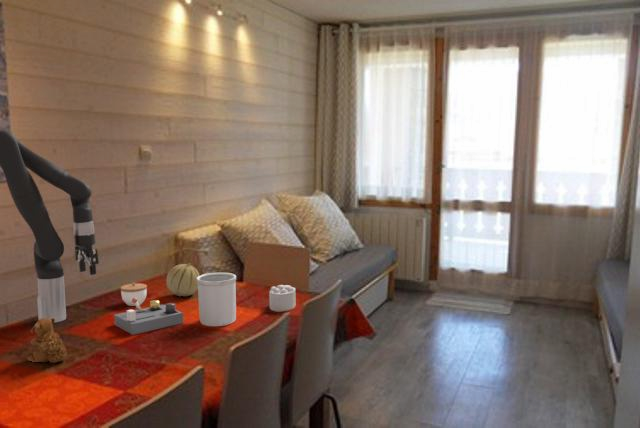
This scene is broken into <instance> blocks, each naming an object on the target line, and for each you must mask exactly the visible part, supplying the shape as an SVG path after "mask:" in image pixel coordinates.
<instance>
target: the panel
mask: <svg viewBox="0 0 640 428" xmlns="http://www.w3.org/2000/svg"><path fill="white" fill-rule="evenodd" d="M133 310H134V309H133ZM134 311H135V312H136V320H135V321H131V322H130V321H129V320H127V311H126V312H121V313H115V314H113V316H114V319H113V320H114V325H115V326H116V327H117V328H120V329H121V330H123V331H125V332H127V333H129V334H130V335H131V336H134V335H138V334H144V333H147V332H151V331H156V330H159V329H164V328H169V327H173V326H177V325H181V324H184V313H183V311H179V310H177V309H175V312H174V313H166V306H165V304H160V309H158V310H150V306H149V307H145V308H141V311H138V309H135V310H134Z"/></svg>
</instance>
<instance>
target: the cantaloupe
mask: <svg viewBox="0 0 640 428" xmlns="http://www.w3.org/2000/svg"><path fill="white" fill-rule="evenodd" d="M191 264H192V263H190V262H189V263H179V264H177V265H175V266H173V267H172V268H171V269H170V271H168V274H167V276H166V279H165V280H166V286H167V289H168V290H169V292H170V293H172V294H174V295H175V296H178V297H181V296H183V297H189V296H191V295H194V293H196V292H197V291H198V283H197V277H198V276H200V273H199V271H198V269H197V268H195V266H193V265H191Z"/></svg>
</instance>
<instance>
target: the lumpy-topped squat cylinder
mask: <svg viewBox="0 0 640 428" xmlns="http://www.w3.org/2000/svg"><path fill="white" fill-rule="evenodd" d="M296 291H297V290H296V287H294V286H291V285H290V284H289V285H288V284H285V285H284V284H279V285H277V286H271V287H270V290H269V292H268V293H269V295H268V297H269V310H271V311H274V312H279V313H280V312H288V311H291V310H293V309H295V307H296V306H297V303H296V301H297V300H296V299H297V296H296V295H297V293H296Z"/></svg>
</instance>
